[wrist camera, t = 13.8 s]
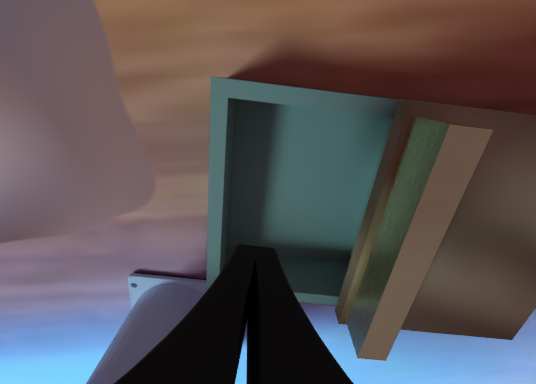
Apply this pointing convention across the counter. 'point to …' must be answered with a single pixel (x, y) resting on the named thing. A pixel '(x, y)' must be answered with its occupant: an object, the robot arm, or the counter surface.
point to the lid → (446, 229)
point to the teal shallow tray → (292, 177)
